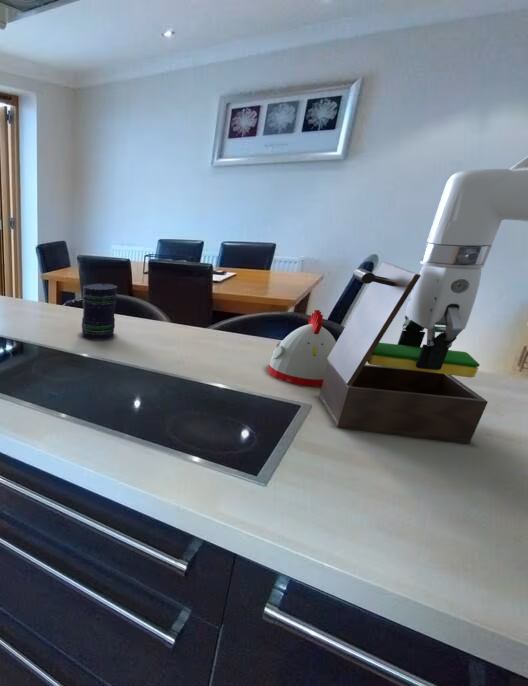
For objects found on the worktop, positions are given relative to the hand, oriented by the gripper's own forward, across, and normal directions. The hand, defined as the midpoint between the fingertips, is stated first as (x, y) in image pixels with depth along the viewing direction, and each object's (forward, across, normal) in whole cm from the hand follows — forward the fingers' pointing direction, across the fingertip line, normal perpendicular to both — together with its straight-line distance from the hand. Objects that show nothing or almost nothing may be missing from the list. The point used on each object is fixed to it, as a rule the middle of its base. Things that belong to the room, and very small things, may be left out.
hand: (416, 359), depth 76 cm
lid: (-6, 0, +8) cm, 10 cm away
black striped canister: (+12, +38, +62) cm, 74 cm away
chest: (+12, 0, +1) cm, 12 cm away
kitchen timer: (+12, +20, +11) cm, 26 cm away
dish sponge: (+1, 0, 0) cm, 1 cm away
